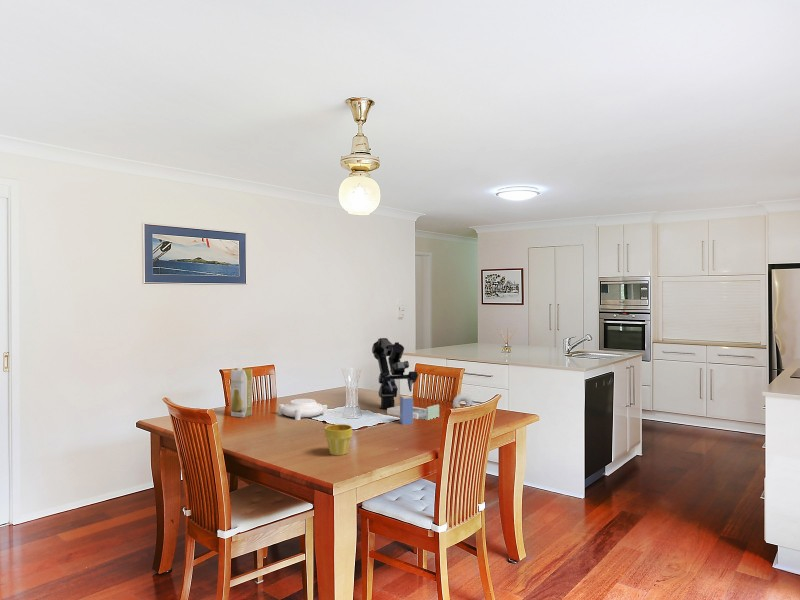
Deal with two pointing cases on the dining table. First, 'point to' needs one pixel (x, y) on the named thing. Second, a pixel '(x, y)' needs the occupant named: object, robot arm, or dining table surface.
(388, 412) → the beige low rectangular frame
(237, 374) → the juice carton
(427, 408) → the tray
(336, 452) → the plant pot
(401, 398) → the blue beige tall block
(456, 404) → the donut
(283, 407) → the round stand with pegs
